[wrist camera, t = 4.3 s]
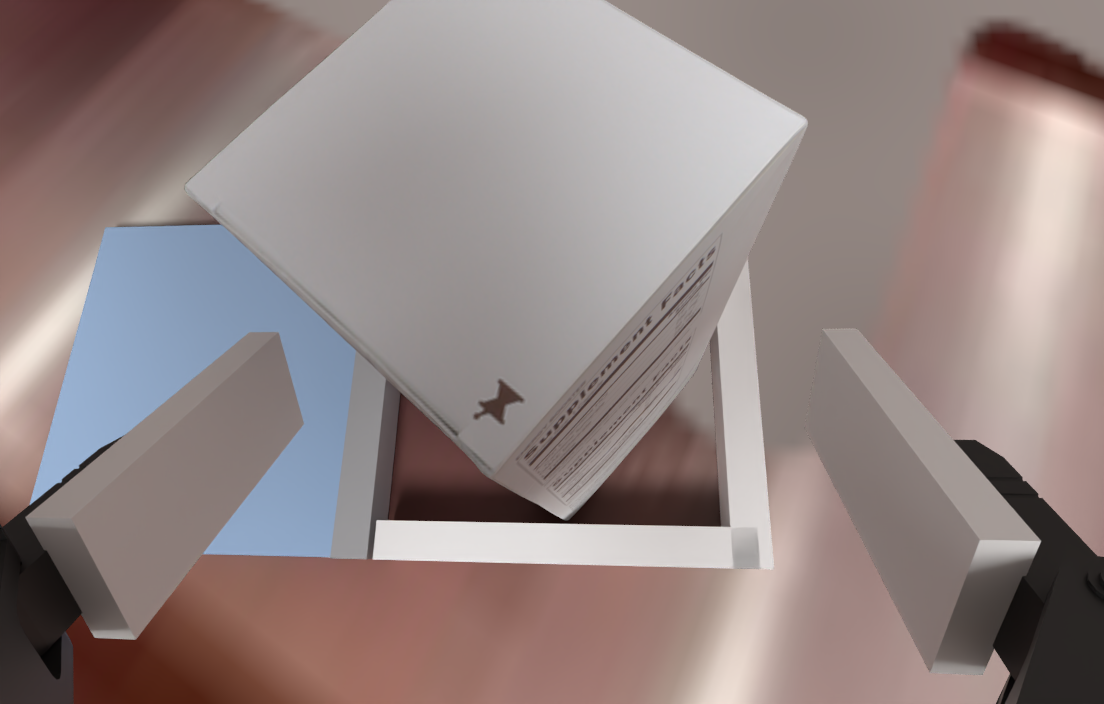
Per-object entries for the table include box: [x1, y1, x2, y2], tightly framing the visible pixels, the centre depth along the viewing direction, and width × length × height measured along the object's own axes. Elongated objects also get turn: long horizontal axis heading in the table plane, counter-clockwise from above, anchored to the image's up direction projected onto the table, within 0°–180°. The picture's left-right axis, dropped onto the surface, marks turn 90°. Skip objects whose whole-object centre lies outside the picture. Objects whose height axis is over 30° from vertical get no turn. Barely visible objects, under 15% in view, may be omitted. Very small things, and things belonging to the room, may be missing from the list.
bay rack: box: [30, 225, 774, 569], centre depth 27 cm, size 16×32×2 cm, turn 89°
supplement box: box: [185, 0, 808, 521], centre depth 20 cm, size 10×9×17 cm
